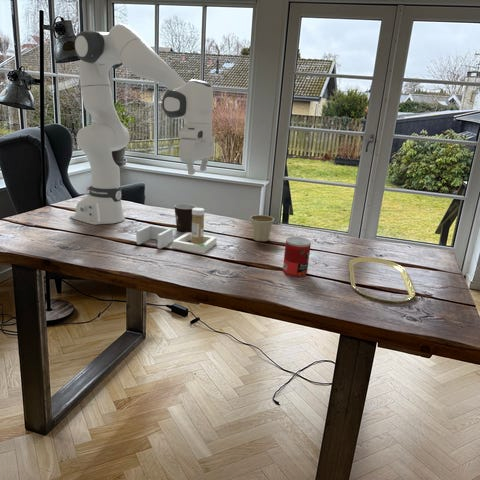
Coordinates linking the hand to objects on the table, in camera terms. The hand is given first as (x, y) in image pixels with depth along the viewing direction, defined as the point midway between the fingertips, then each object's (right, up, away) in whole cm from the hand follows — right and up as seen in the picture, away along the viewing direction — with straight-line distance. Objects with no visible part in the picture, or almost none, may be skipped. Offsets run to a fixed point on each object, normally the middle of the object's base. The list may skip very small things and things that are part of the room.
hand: (197, 172), depth 146 cm
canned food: (+32, -34, -9) cm, 48 cm away
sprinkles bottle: (-1, -25, +11) cm, 27 cm away
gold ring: (+60, -37, -10) cm, 71 cm away
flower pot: (+23, -23, +21) cm, 39 cm away
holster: (-17, -24, +8) cm, 31 cm away
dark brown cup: (-8, -19, +27) cm, 34 cm away
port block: (-2, -25, +9) cm, 27 cm away
